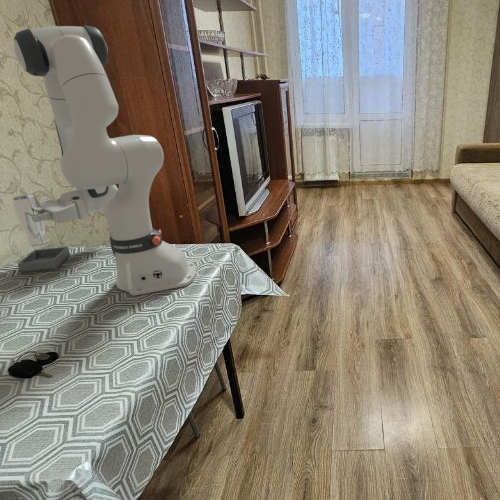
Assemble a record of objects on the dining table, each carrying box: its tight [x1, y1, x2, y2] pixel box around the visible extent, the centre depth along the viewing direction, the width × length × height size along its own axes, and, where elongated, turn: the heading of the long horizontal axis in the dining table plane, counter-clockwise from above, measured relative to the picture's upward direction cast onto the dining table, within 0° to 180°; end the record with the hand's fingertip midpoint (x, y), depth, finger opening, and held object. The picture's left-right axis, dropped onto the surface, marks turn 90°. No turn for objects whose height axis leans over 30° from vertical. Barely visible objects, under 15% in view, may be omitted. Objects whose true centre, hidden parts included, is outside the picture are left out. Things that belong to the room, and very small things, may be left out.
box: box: [17, 246, 71, 275], centre depth 123 cm, size 11×11×4 cm
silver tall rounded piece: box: [12, 193, 51, 247], centre depth 117 cm, size 7×7×15 cm
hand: (28, 217), depth 116 cm, fingers closed on silver tall rounded piece, 6 cm apart
